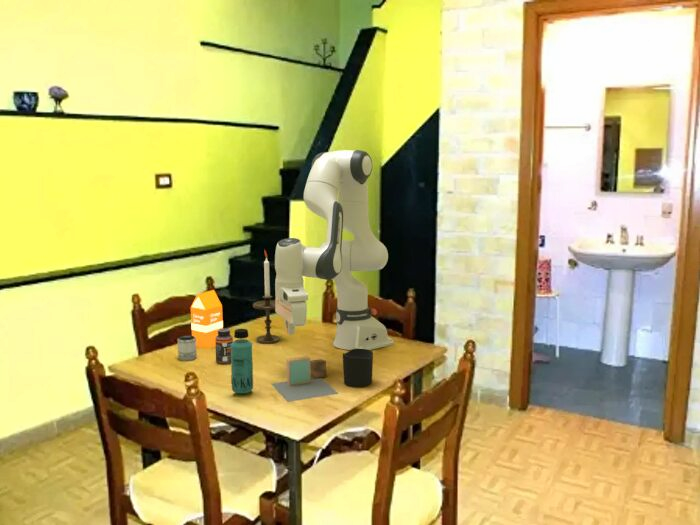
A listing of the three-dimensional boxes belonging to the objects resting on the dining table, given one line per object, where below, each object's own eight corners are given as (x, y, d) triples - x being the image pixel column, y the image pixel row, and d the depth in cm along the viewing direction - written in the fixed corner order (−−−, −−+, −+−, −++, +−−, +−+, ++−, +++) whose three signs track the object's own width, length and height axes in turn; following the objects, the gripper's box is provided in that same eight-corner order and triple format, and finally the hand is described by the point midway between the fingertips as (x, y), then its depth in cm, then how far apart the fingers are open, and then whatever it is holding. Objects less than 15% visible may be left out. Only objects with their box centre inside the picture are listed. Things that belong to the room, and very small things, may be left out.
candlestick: (260, 346, 246) (258, 252, 240) (249, 339, 255) (247, 248, 249) (287, 341, 251) (285, 250, 245) (275, 334, 260) (273, 246, 254)
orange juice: (223, 342, 251) (221, 290, 247) (207, 348, 243) (204, 295, 240) (208, 339, 255) (206, 288, 251) (191, 345, 247) (189, 292, 244)
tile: (308, 380, 209) (307, 356, 208) (310, 382, 207) (310, 358, 206) (287, 383, 206) (286, 358, 205) (289, 386, 204) (288, 361, 203)
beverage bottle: (232, 390, 202) (230, 326, 198) (254, 389, 202) (252, 326, 199) (230, 398, 196) (228, 332, 192) (253, 397, 196) (251, 332, 193)
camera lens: (197, 360, 230) (196, 338, 229) (178, 362, 229) (177, 339, 227) (196, 354, 236) (195, 333, 235) (177, 356, 234) (176, 335, 233)
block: (322, 374, 216) (321, 359, 216) (326, 376, 212) (325, 360, 212) (310, 376, 214) (309, 360, 214) (315, 378, 211) (314, 362, 210)
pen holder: (376, 388, 204) (376, 356, 202) (346, 390, 202) (346, 358, 200) (368, 377, 213) (369, 347, 211) (340, 379, 211) (339, 349, 209)
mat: (319, 377, 213) (319, 376, 213) (338, 394, 198) (338, 393, 198) (271, 384, 207) (271, 383, 206) (287, 403, 192) (287, 401, 192)
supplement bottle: (229, 365, 225) (228, 332, 223) (213, 364, 226) (211, 331, 224) (236, 359, 231) (235, 328, 229) (220, 358, 232) (218, 327, 230)
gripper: (270, 285, 216) (270, 327, 219) (290, 297, 198) (290, 342, 200) (288, 284, 219) (289, 325, 221) (310, 296, 200) (310, 340, 203)
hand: (290, 333), depth 210 cm, fingers closed
